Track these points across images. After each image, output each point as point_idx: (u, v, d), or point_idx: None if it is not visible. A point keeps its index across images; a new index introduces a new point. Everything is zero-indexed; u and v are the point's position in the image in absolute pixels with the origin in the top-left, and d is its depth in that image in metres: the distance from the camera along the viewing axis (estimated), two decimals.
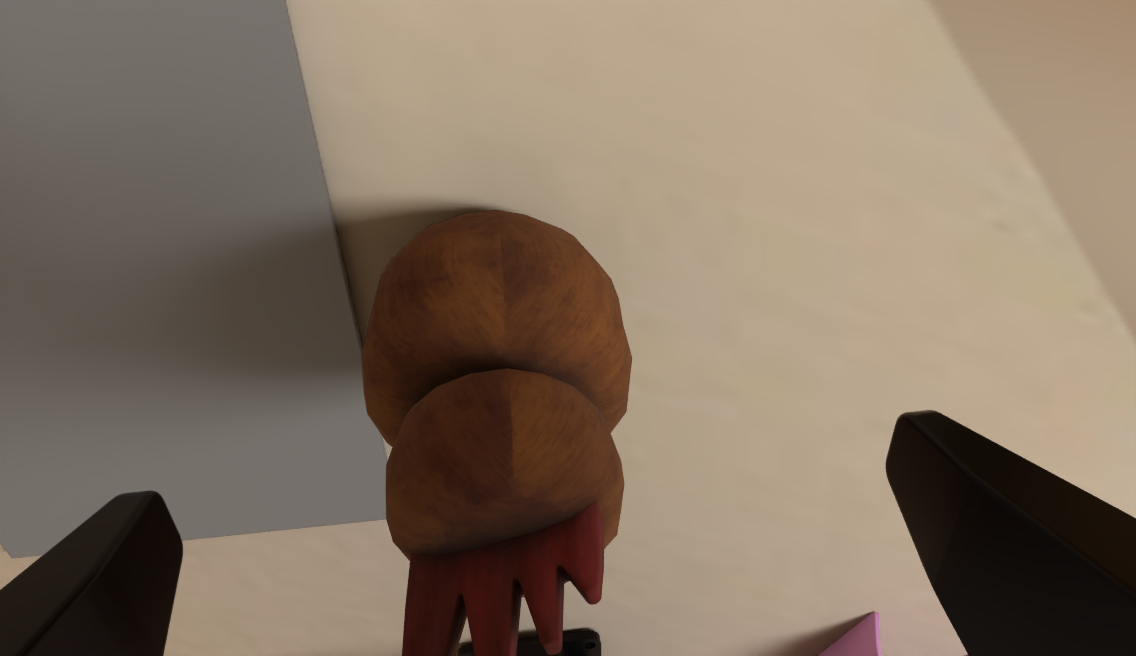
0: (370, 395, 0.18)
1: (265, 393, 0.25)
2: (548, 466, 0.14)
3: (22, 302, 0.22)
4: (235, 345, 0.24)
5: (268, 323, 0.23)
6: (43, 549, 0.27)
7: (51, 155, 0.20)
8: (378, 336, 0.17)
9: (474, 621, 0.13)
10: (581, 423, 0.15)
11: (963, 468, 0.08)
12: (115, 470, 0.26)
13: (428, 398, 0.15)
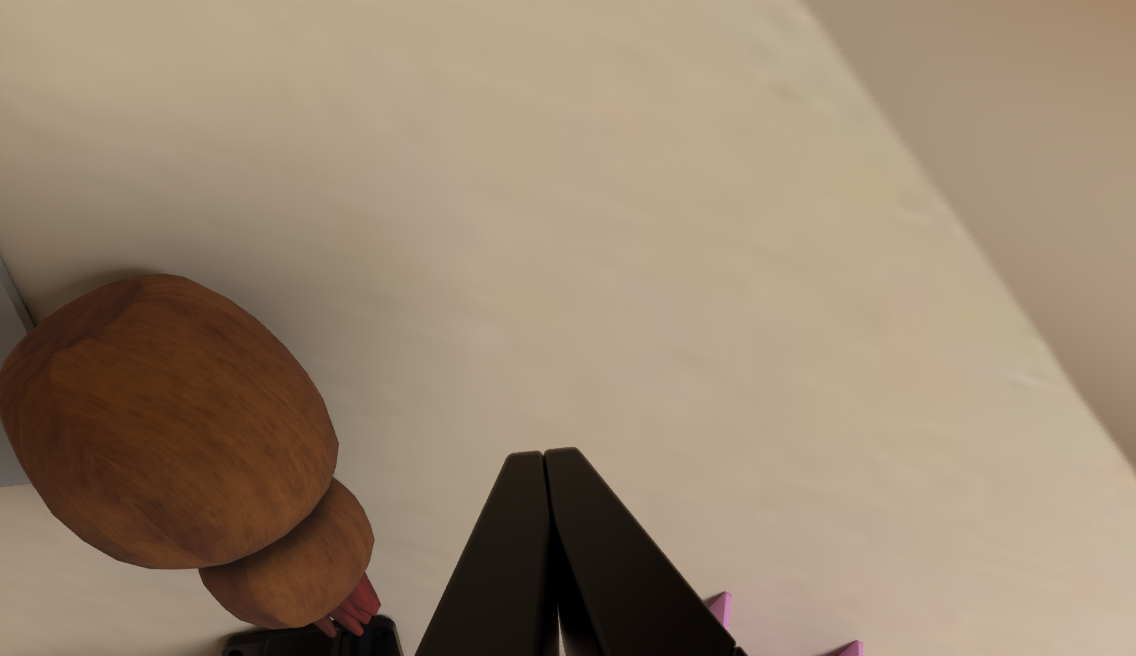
0: None
1: None
2: (320, 617, 0.23)
3: None
4: None
5: None
6: None
7: None
8: None
9: None
10: (323, 592, 0.22)
11: (555, 513, 0.08)
12: None
13: (213, 595, 0.22)
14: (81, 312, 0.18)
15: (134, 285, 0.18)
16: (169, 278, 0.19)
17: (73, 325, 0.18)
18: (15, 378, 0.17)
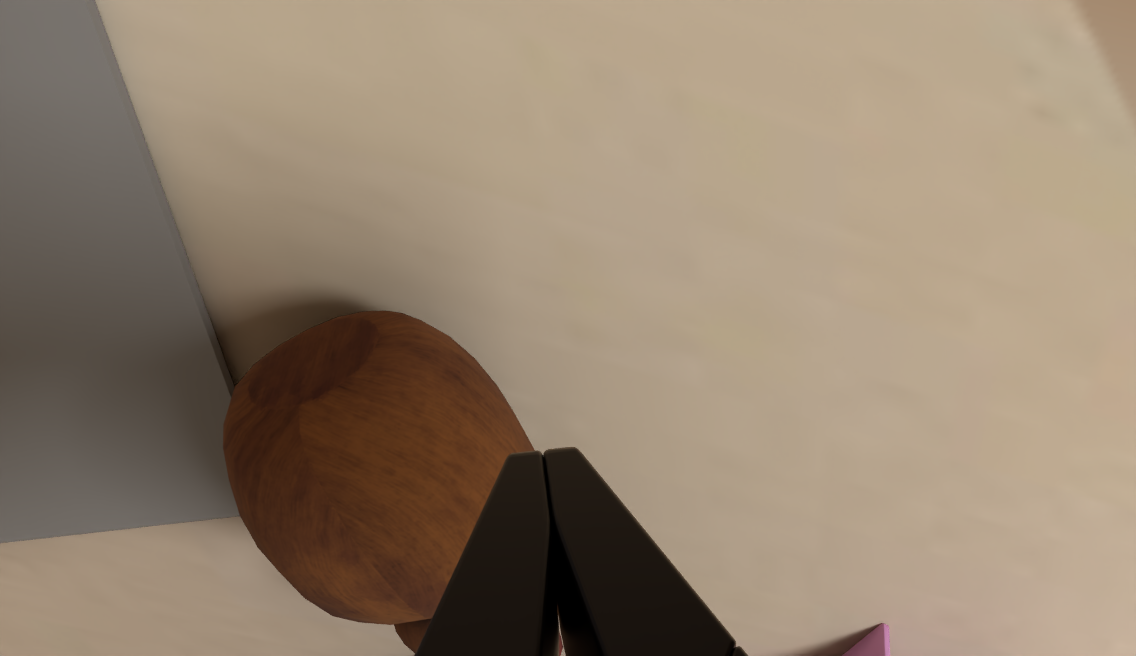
0: None
1: (71, 346, 0.19)
2: None
3: None
4: (18, 279, 0.18)
5: (58, 248, 0.17)
6: None
7: None
8: None
9: None
10: None
11: (555, 512, 0.08)
12: None
13: (410, 645, 0.21)
14: (309, 355, 0.17)
15: (362, 325, 0.17)
16: (398, 317, 0.17)
17: (307, 371, 0.16)
18: (255, 431, 0.16)
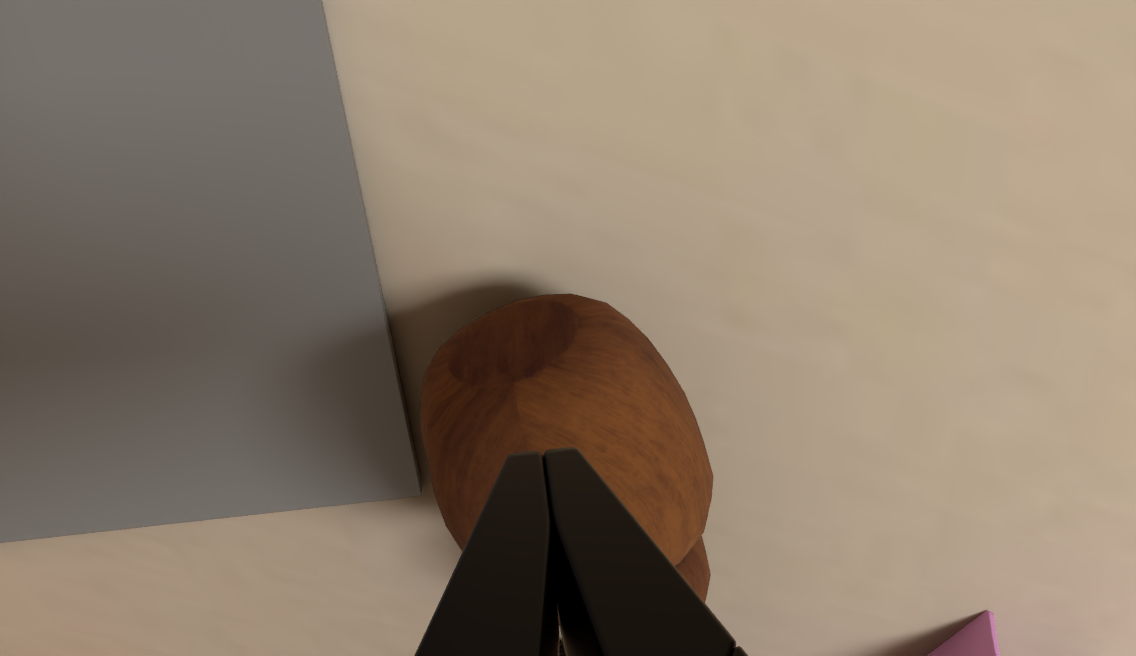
0: None
1: (252, 329, 0.19)
2: None
3: None
4: (211, 262, 0.18)
5: (254, 231, 0.18)
6: None
7: None
8: None
9: None
10: None
11: (555, 513, 0.08)
12: (62, 434, 0.20)
13: None
14: (506, 336, 0.17)
15: (555, 307, 0.17)
16: (589, 299, 0.18)
17: (509, 351, 0.17)
18: (468, 408, 0.16)
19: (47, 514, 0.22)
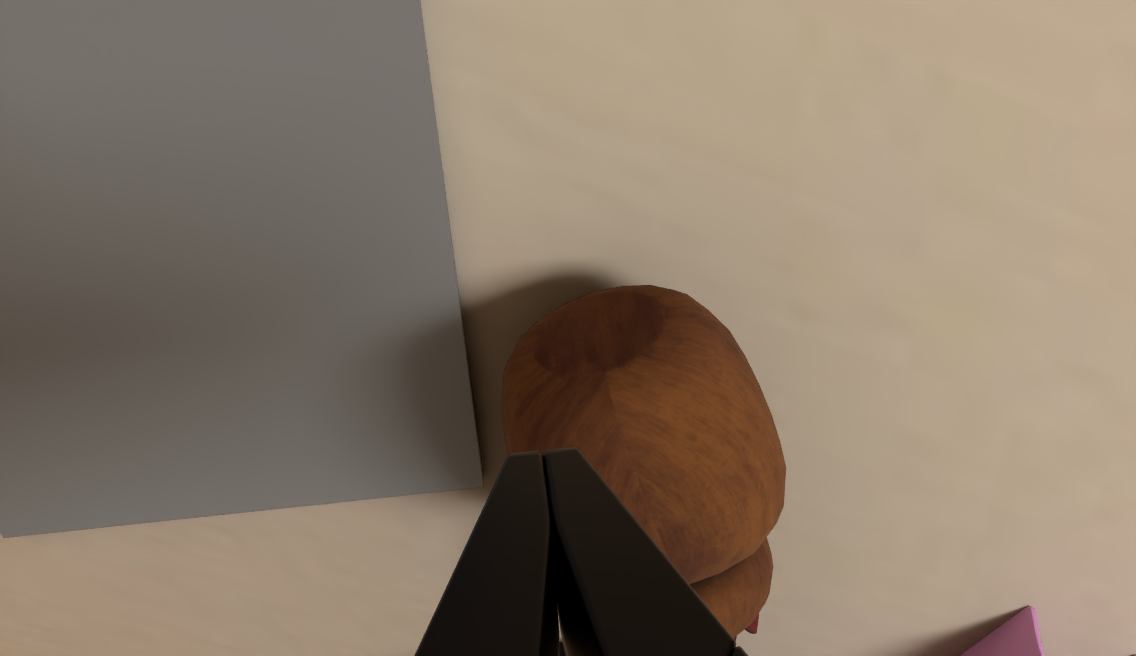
0: None
1: (329, 319, 0.19)
2: None
3: (15, 185, 0.17)
4: (293, 251, 0.18)
5: (338, 221, 0.18)
6: (43, 526, 0.22)
7: None
8: None
9: None
10: (750, 614, 0.21)
11: (555, 513, 0.08)
12: (135, 422, 0.20)
13: None
14: (590, 326, 0.17)
15: (638, 298, 0.18)
16: (671, 290, 0.18)
17: (597, 341, 0.17)
18: (560, 397, 0.16)
19: (114, 503, 0.22)
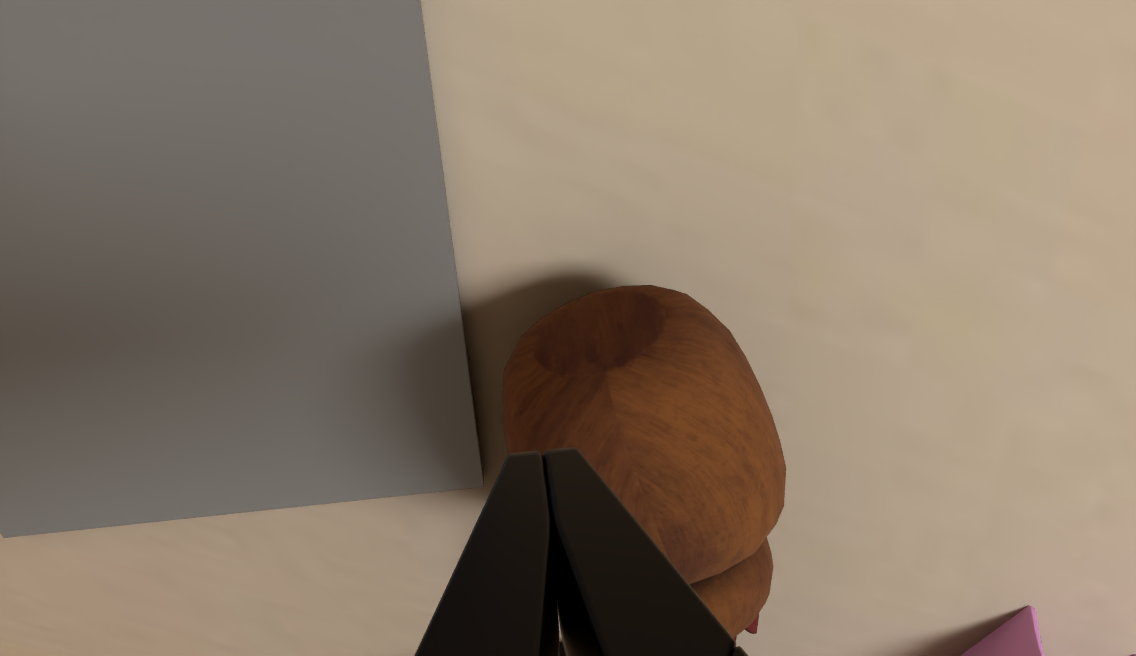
0: None
1: (329, 319, 0.19)
2: None
3: (15, 185, 0.17)
4: (294, 251, 0.18)
5: (338, 221, 0.18)
6: (43, 526, 0.22)
7: None
8: None
9: None
10: (750, 614, 0.21)
11: (555, 513, 0.08)
12: (135, 422, 0.20)
13: None
14: (591, 326, 0.17)
15: (639, 298, 0.18)
16: (671, 291, 0.18)
17: (597, 341, 0.17)
18: (560, 397, 0.16)
19: (114, 503, 0.22)
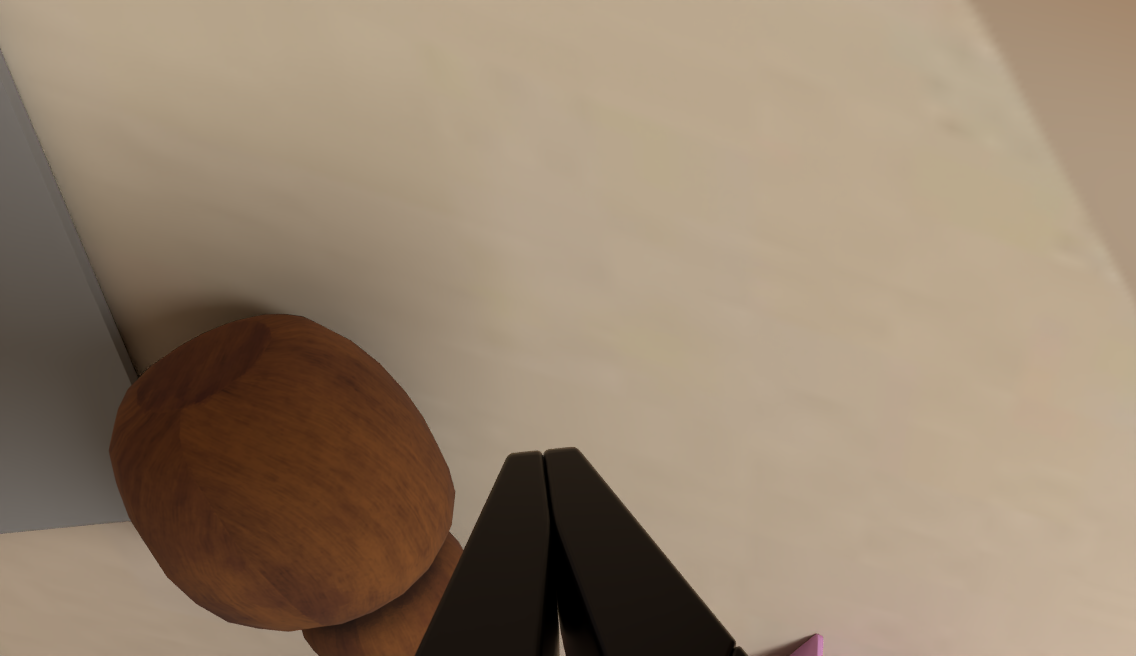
0: None
1: None
2: None
3: None
4: None
5: None
6: None
7: None
8: None
9: None
10: None
11: (555, 513, 0.08)
12: None
13: (317, 652, 0.20)
14: (201, 358, 0.17)
15: (257, 328, 0.17)
16: (295, 321, 0.17)
17: (195, 374, 0.16)
18: (137, 434, 0.15)
19: None
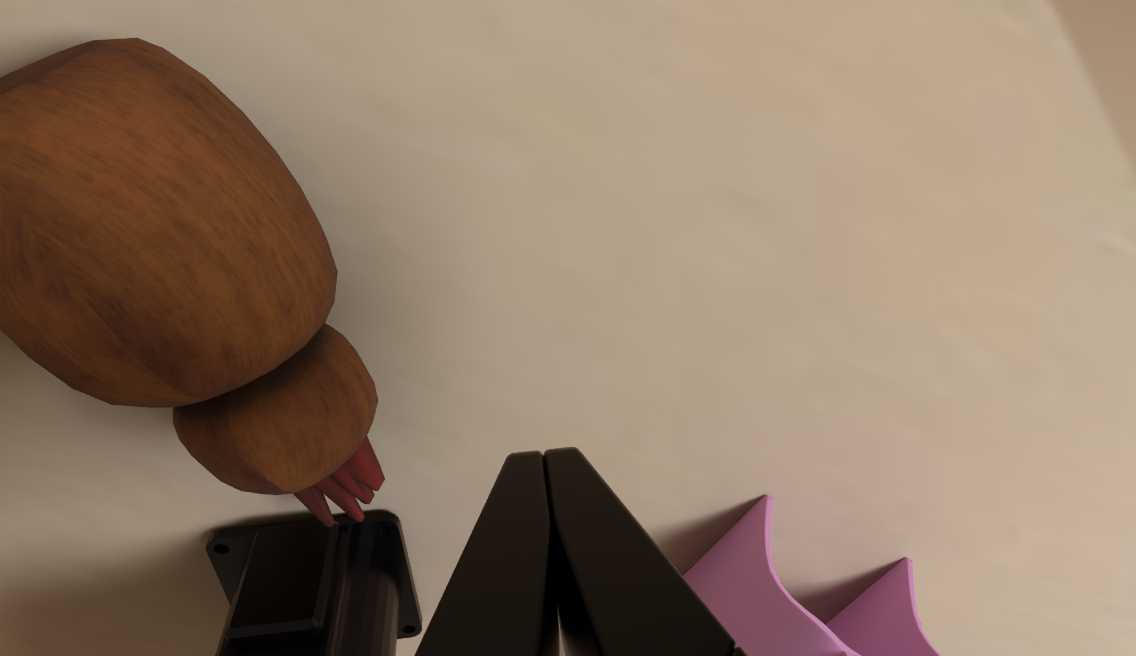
0: None
1: None
2: (314, 481, 0.19)
3: None
4: None
5: None
6: None
7: None
8: None
9: (319, 488, 0.22)
10: (318, 447, 0.19)
11: (555, 512, 0.08)
12: None
13: (189, 449, 0.19)
14: (24, 72, 0.15)
15: (89, 44, 0.15)
16: (132, 38, 0.15)
17: (12, 81, 0.14)
18: None
19: None
